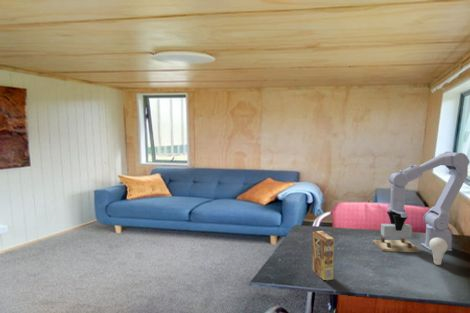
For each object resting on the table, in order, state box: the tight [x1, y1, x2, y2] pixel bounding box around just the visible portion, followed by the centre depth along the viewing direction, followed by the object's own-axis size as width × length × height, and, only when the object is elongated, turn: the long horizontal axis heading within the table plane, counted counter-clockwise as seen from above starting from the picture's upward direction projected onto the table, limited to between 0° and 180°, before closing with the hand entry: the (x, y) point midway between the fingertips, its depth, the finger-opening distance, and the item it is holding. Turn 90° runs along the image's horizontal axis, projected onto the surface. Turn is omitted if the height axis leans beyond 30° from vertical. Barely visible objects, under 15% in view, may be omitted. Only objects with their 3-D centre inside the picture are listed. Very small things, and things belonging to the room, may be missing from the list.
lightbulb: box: [429, 237, 448, 266], centre depth 123 cm, size 6×6×11 cm
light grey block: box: [380, 223, 413, 239], centre depth 142 cm, size 12×4×5 cm, turn 86°
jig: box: [372, 237, 421, 253], centre depth 143 cm, size 16×12×3 cm
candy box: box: [312, 230, 335, 281], centre depth 115 cm, size 9×4×15 cm, turn 13°
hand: (396, 228), depth 142 cm, fingers closed on light grey block, 4 cm apart
